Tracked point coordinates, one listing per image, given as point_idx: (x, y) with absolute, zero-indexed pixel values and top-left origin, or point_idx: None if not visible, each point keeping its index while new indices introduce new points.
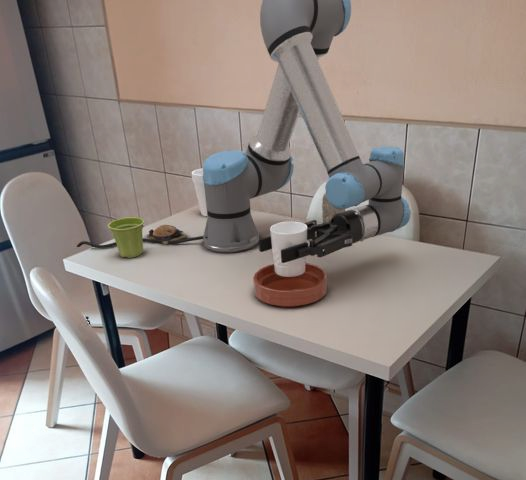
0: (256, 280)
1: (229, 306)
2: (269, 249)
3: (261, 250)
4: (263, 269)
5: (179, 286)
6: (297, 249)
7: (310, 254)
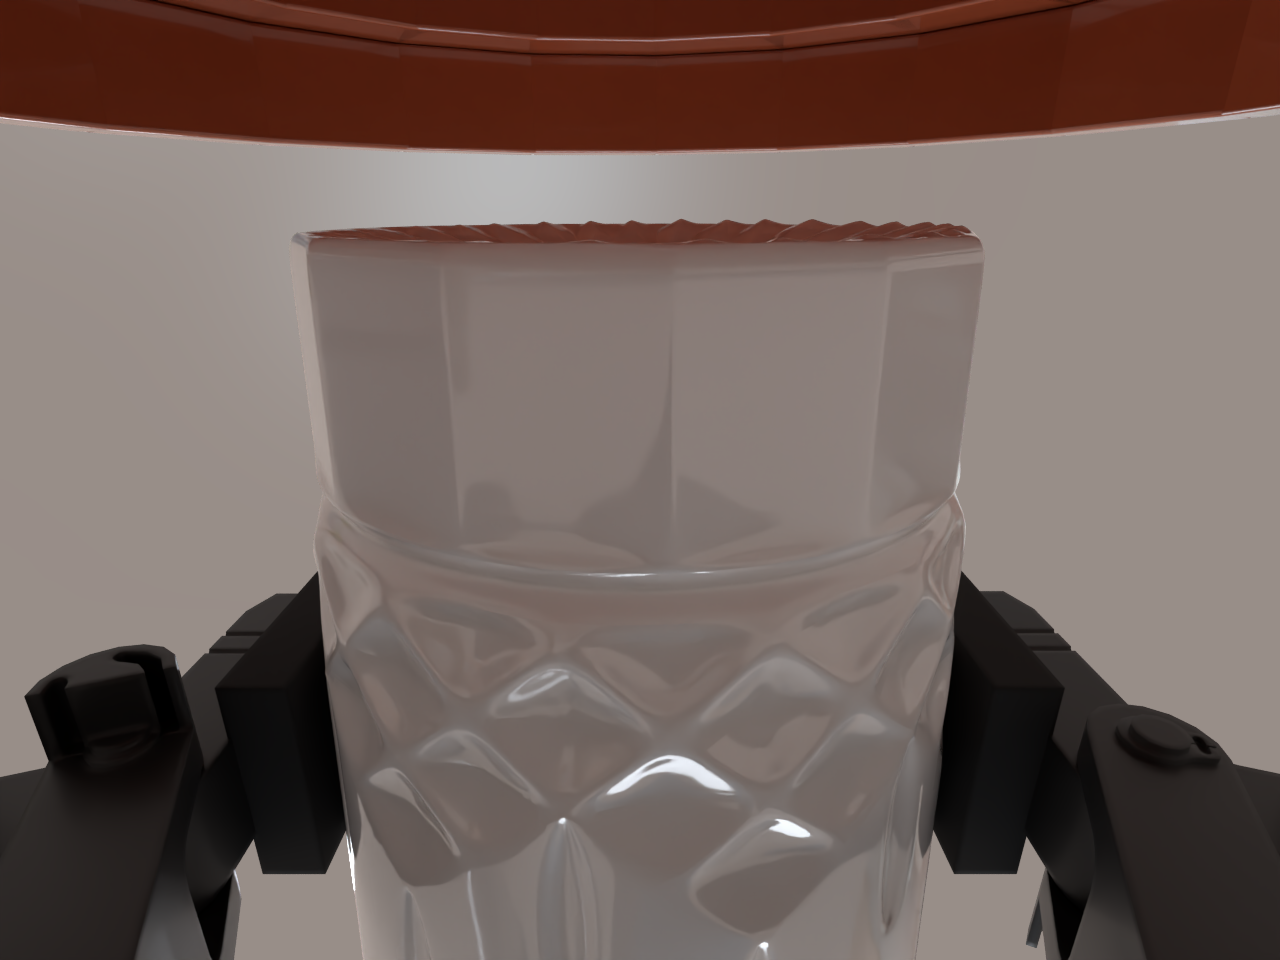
0: (486, 151)
1: None
2: None
3: None
4: (80, 114)
5: None
6: None
7: (1120, 719)
